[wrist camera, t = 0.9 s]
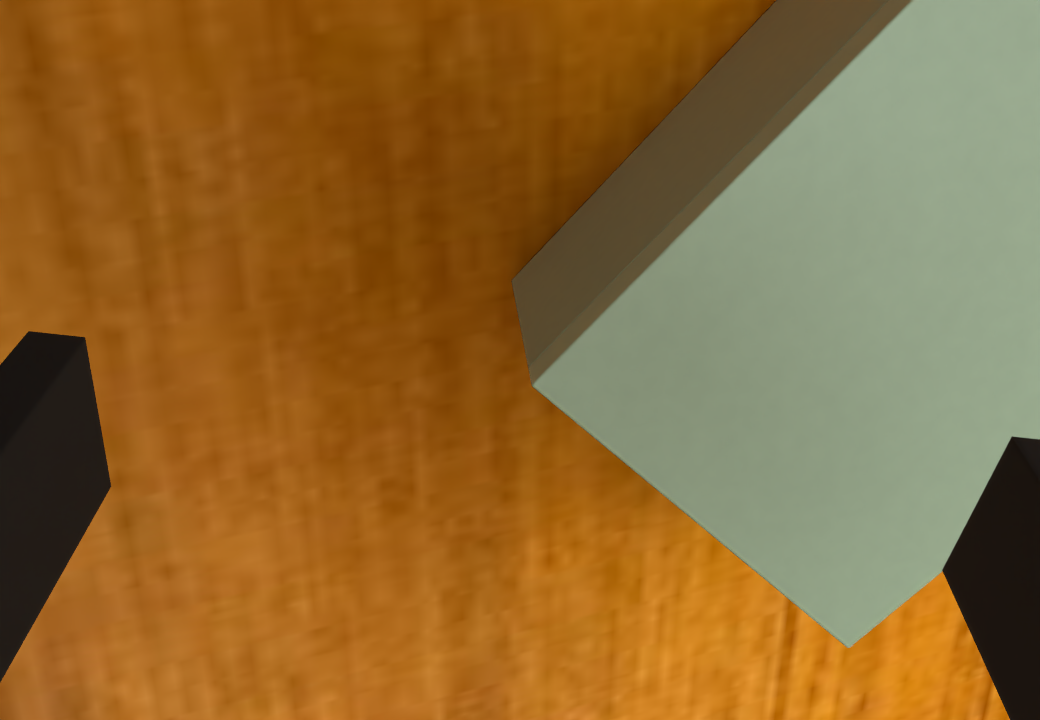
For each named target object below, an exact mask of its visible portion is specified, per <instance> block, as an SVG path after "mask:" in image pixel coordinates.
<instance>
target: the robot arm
mask: <svg viewBox="0 0 1040 720" xmlns="http://www.w3.org/2000/svg"><path fill="white" fill-rule="evenodd" d="M110 487H111V483H110V477H109V471H108V466H107V460H106V454H105V449H104V443H103V437H102V431H101V426H100V420H99V414H98V409H97V403H96V397H95V391H94V386H93V380H92V374H91V369H90V363H89V357H88V352H87V346H86V340H85V337H77V336H68V335H58V334H49V333H40V332H30V331H28V333H27V334H26V335H25V336H24V337H23V339H22V340H21V341H20V342H19V343H18V345H17V346H16V347H15V348H14V349H13V350H12V352H11V353H10V354H9V355H8V356H7V358H6V359H5V360H4V361H3V362H2V364H1V365H0V682H1V680H2V678H3V677H4V675H5V673H6V671H7V670H8V668H9V666H10V664H11V663H12V661H13V659H14V657H15V655H16V654H17V652H18V650H19V648H20V647H21V645H22V643H23V641H24V640H25V638H26V636H27V634H28V632H29V631H30V629H31V627H32V625H33V624H34V622H35V620H36V618H37V617H38V615H39V613H40V611H41V609H42V608H43V606H44V604H45V602H46V601H47V599H48V597H49V595H50V594H51V592H52V590H53V588H54V586H55V585H56V583H57V581H58V579H59V578H60V576H61V574H62V572H63V571H64V569H65V567H66V565H67V563H68V562H69V560H70V558H71V556H72V555H73V553H74V551H75V549H76V548H77V546H78V544H79V542H80V540H81V539H82V537H83V535H84V533H85V532H86V530H87V528H88V526H89V525H90V523H91V521H92V519H93V517H94V516H95V514H96V512H97V510H98V509H99V507H100V505H101V503H102V502H103V500H104V498H105V496H106V494H107V493H108V491H109V489H110ZM942 571H943V573H944V575H945V577H946V579H947V582H948V584H949V586H950V588H951V590H952V593H953V595H954V597H955V599H956V601H957V604H958V606H959V608H960V610H961V612H962V615H963V617H964V619H965V621H966V623H967V626H968V628H969V630H970V632H971V634H972V637H973V639H974V641H975V643H976V645H977V648H978V650H979V652H980V654H981V656H982V659H983V661H984V663H985V665H986V667H987V670H988V672H989V674H990V676H991V678H992V681H993V683H994V685H995V687H996V689H997V692H998V694H999V696H1000V698H1001V700H1002V703H1003V705H1004V707H1005V709H1006V711H1007V714H1008V716H1009V718H1010V720H1040V439H1031V438H1022V437H1013V436H1012V437H1011V439H1010V441H1009V443H1008V445H1007V447H1006V448H1005V450H1004V452H1003V454H1002V456H1001V458H1000V460H999V462H998V464H997V466H996V468H995V470H994V471H993V473H992V475H991V477H990V479H989V481H988V483H987V485H986V487H985V489H984V491H983V493H982V495H981V496H980V498H979V500H978V502H977V504H976V506H975V508H974V510H973V512H972V514H971V516H970V518H969V519H968V521H967V523H966V525H965V527H964V529H963V531H962V533H961V535H960V537H959V539H958V541H957V543H956V544H955V546H954V548H953V550H952V552H951V554H950V556H949V558H948V560H947V562H946V564H945V566H944V567H943V569H942Z"/></svg>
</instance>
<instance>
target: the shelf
mask: <svg viewBox="0 0 1040 720" xmlns="http://www.w3.org/2000/svg"><path fill="white" fill-rule="evenodd" d="M512 286H513V291H514V296H515V302H516V307H517V312H518V317H519V322H520V327H521V333H522V338H523V343H524V348H525V353H526V358H527V363H528V368H529V374H530V379H531V384H532V387H534V388H535V389H536V390H537V391H539V392H540V393H541V394H542V395H543V396H545V397H546V398H547V399H548V400H549V401H551V402H552V403H553V404H554V405H555V406H557V407H558V408H559V409H560V410H561V411H563V412H564V413H565V414H566V415H567V416H569V417H570V418H571V419H572V420H573V421H575V422H576V423H577V424H578V425H580V426H581V427H582V428H583V429H584V430H586V431H587V432H588V433H589V434H590V435H592V436H593V437H594V438H595V439H596V440H598V441H599V442H600V443H601V444H602V445H604V446H605V447H606V448H607V449H608V450H610V451H611V452H612V453H613V454H614V455H616V456H617V457H618V458H619V459H621V460H622V461H623V462H624V463H625V464H627V465H628V466H629V467H630V468H631V469H633V470H634V471H635V472H636V473H637V474H639V475H640V476H641V477H642V478H643V479H645V480H646V481H647V482H648V483H649V484H651V485H652V486H653V487H654V488H655V489H657V490H658V491H659V492H660V493H662V494H663V495H664V496H665V497H666V498H668V499H669V500H670V501H671V502H672V503H674V504H675V505H676V506H677V507H678V508H680V509H681V510H682V511H683V512H684V513H686V514H687V515H688V516H689V517H690V518H692V519H693V520H694V521H695V522H696V523H698V524H699V525H700V526H701V527H703V528H704V529H705V530H706V531H707V532H709V533H710V534H711V535H712V536H713V537H715V538H716V539H717V540H718V541H719V542H721V543H722V544H723V545H724V546H725V547H727V548H728V549H729V550H730V551H731V552H733V553H734V554H735V555H736V556H737V557H739V558H740V559H741V560H742V561H744V562H745V563H746V564H747V565H748V566H750V567H751V568H752V569H753V570H754V571H756V572H757V573H758V574H759V575H760V576H762V577H763V578H764V579H765V580H766V581H768V582H769V583H770V584H771V585H772V586H774V587H775V588H776V589H777V590H778V591H780V592H781V593H782V594H783V595H785V596H786V597H787V598H788V599H789V600H791V601H792V602H793V603H794V604H795V605H797V606H798V607H799V608H800V609H801V610H803V611H804V612H805V613H806V614H807V615H809V616H810V617H811V618H812V619H813V620H815V621H816V622H817V623H818V624H819V625H821V626H822V627H823V628H824V629H825V630H827V631H828V632H829V633H830V634H832V635H833V636H834V637H835V638H836V639H838V640H839V641H840V642H841V643H842V644H844V645H845V646H846V647H848V648H849V647H851V646H852V645H853V644H854V643H856V642H857V641H858V640H859V639H861V638H862V637H863V636H864V635H865V634H867V633H868V632H869V631H870V630H872V629H873V628H874V627H875V626H876V625H878V624H879V623H880V622H881V621H882V620H884V619H885V618H886V617H887V616H889V615H890V614H891V613H892V612H893V611H895V610H896V609H897V608H898V607H899V606H901V605H902V604H903V603H904V602H906V601H907V600H908V599H909V598H910V597H912V596H913V595H914V594H915V593H917V592H918V591H919V590H920V589H921V588H923V587H924V586H925V585H926V584H927V583H929V582H930V581H931V580H932V579H934V578H935V577H936V576H937V575H938V574H940V573H941V572H942V569H943V567H944V566H945V564H946V562H947V560H948V558H949V556H950V554H951V552H952V550H953V548H954V546H955V544H956V543H957V541H958V539H959V537H960V535H961V533H962V531H963V529H964V527H965V525H966V523H967V521H968V519H969V518H970V516H971V514H972V512H973V510H974V508H975V506H976V504H977V502H978V500H979V498H980V496H981V495H982V493H983V491H984V489H985V487H986V485H987V483H988V481H989V479H990V477H991V475H992V473H993V471H994V470H995V468H996V466H997V464H998V462H999V460H1000V458H1001V456H1002V454H1003V452H1004V450H1005V448H1006V447H1007V445H1008V443H1009V441H1010V439H1011V437H1012V436H1013V437H1022V438H1031V439H1040V0H776V1H775V2H774V3H773V5H772V6H771V7H770V8H769V9H768V10H767V11H766V12H765V13H764V14H763V15H762V16H761V17H760V18H759V19H758V20H757V21H756V22H755V24H754V25H753V26H752V27H751V28H750V29H749V30H748V31H747V32H746V33H745V34H744V35H743V36H742V37H741V38H740V39H739V40H738V42H737V43H736V44H735V45H734V46H733V47H732V48H731V49H730V50H729V51H728V52H727V53H726V54H725V55H724V56H723V57H722V58H721V59H720V61H719V62H718V63H717V64H716V65H715V66H714V67H713V68H712V69H711V70H710V71H709V72H708V73H707V74H706V75H705V76H704V77H703V78H702V80H701V81H700V82H699V83H698V84H697V85H696V86H695V87H694V88H693V89H692V90H691V91H690V92H689V93H688V94H687V95H686V96H685V98H684V99H683V100H682V101H681V102H680V103H679V104H678V105H677V106H676V107H675V108H674V109H673V110H672V111H671V112H670V113H669V114H668V115H667V117H666V118H665V119H664V120H663V121H662V122H661V123H660V124H659V125H658V126H657V127H656V128H655V129H654V130H653V131H652V132H651V133H650V135H649V136H648V137H647V138H646V139H645V140H644V141H643V142H642V143H641V144H640V145H639V146H638V147H637V148H636V149H635V150H634V151H633V152H632V154H631V155H630V156H629V157H628V158H627V159H626V160H625V161H624V162H623V163H622V164H621V165H620V166H619V167H618V168H617V169H616V170H615V172H614V173H613V174H612V175H611V176H610V177H609V178H608V179H607V180H606V181H605V182H604V183H603V184H602V185H601V186H600V187H599V188H598V189H597V191H596V192H595V193H594V194H593V195H592V196H591V197H590V198H589V199H588V200H587V201H586V202H585V203H584V204H583V205H582V206H581V207H580V209H579V210H578V211H577V212H576V213H575V214H574V215H573V216H572V217H571V218H570V219H569V220H568V221H567V222H566V223H565V224H564V225H563V226H562V228H561V229H560V230H559V231H558V232H557V233H556V234H555V235H554V236H553V237H552V238H551V239H550V240H549V241H548V242H547V243H546V244H545V245H544V247H543V248H542V249H541V250H540V251H539V252H538V253H537V254H536V255H535V256H534V257H533V258H532V259H531V260H530V261H529V262H528V263H527V265H526V266H525V267H524V268H523V269H522V270H521V271H520V272H519V273H518V274H517V275H516V276H515V277H514V278H513V279H512Z"/></svg>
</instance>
